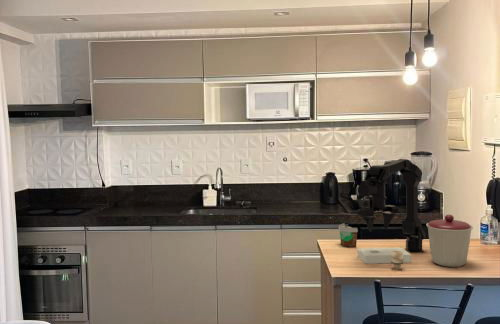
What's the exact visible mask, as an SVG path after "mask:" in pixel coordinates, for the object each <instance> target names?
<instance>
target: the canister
mask: <svg viewBox="0 0 500 324" xmlns="http://www.w3.org/2000/svg"><path fill="white" fill-rule="evenodd" d="M425 225H426V227H427V230H428V231H427V232H428V239H429V240H428V243H429V250H430V256H431V260H432V261H433V263H435V264H436V265H439V266H443V267H449V268H451V267H452V268H457V267H458V268H459V267H462V266H464V265H465V264H466V263H467V260H468V254H469V249H470V242H471V241H470V240H471V233H472V230H473V229H474V227H473V225H471V224H469V223H468V222H465V221H462V220H456V219H455V216H454V215H452V214H445V216H444V219H434V220H430V221H429V222H427V223H426V224H425Z"/></svg>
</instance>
